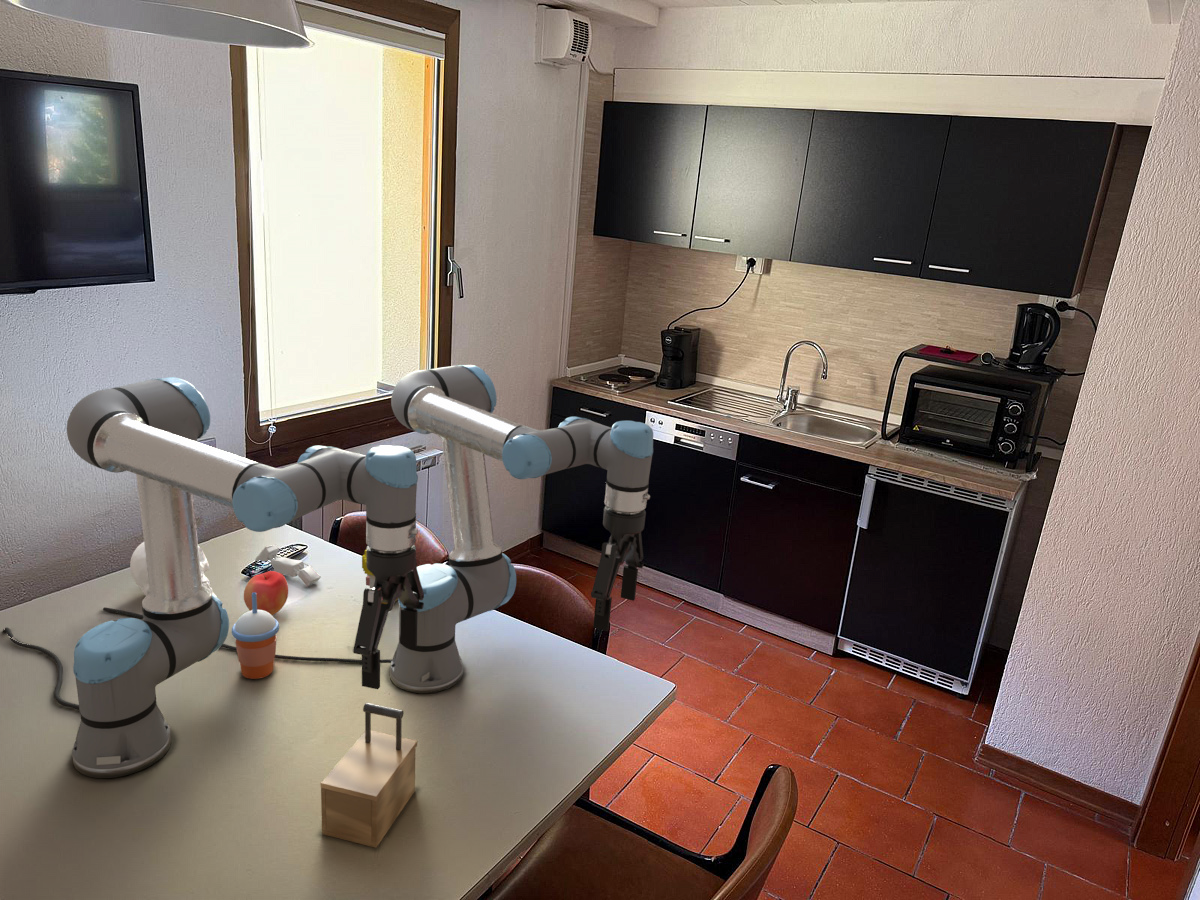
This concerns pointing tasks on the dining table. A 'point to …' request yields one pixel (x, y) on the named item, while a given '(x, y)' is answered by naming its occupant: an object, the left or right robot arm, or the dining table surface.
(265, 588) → the apple
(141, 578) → the skull
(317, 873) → the dining table surface
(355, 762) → the lid
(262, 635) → the cup with straw
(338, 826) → the chest
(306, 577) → the white long bent piece
